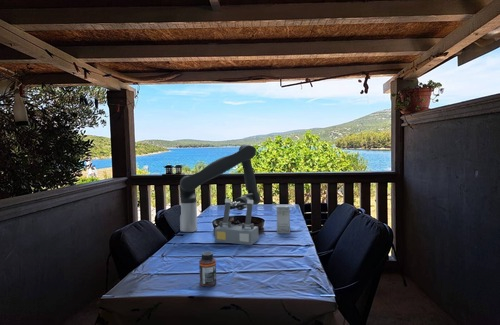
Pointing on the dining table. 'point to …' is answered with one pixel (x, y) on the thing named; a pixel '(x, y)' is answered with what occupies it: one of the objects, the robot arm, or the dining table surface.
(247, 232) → the switch box
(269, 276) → the dining table surface
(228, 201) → the lever with pale knob
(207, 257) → the supplement bottle
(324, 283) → the dining table surface
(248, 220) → the lever grey
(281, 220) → the circuit breaker
